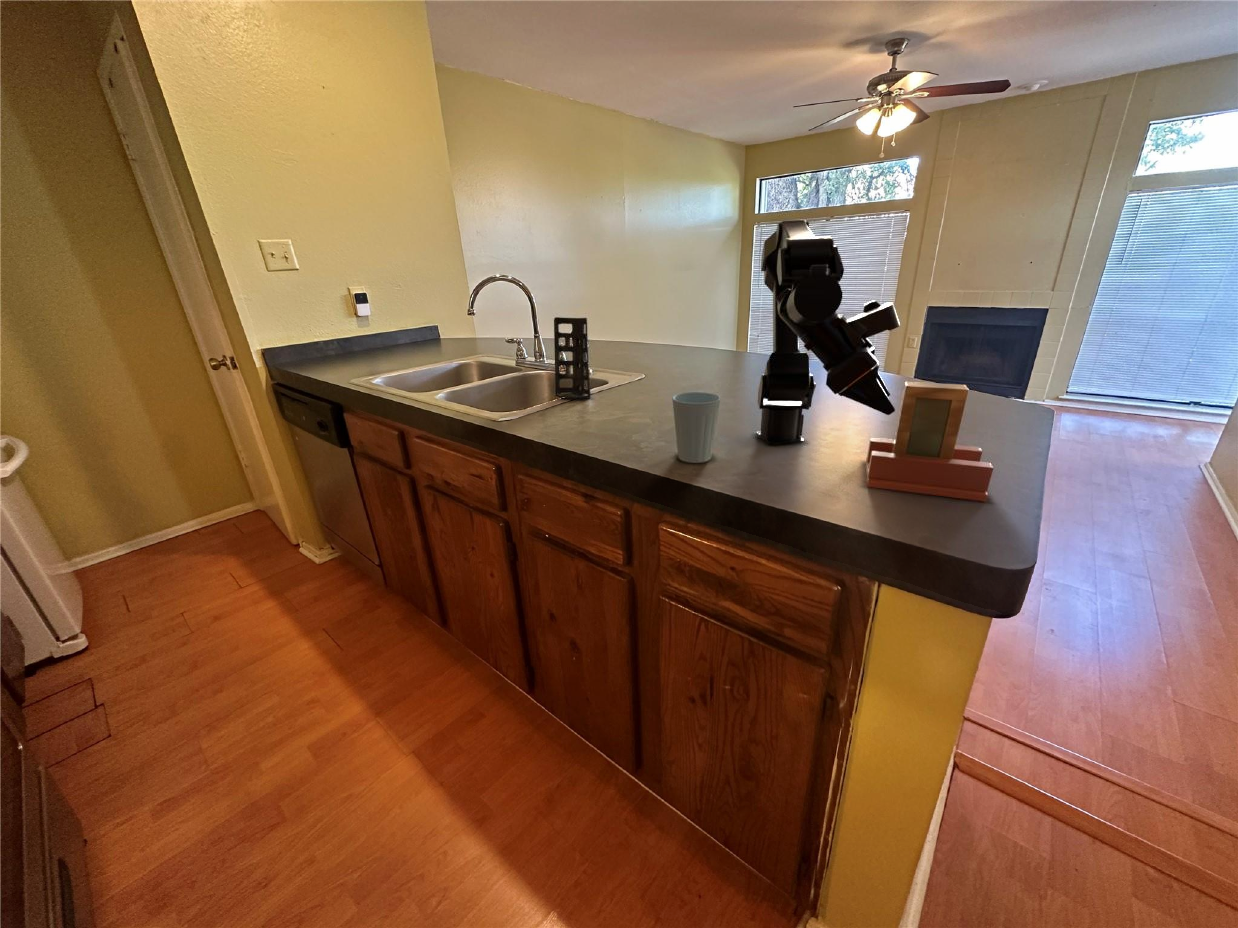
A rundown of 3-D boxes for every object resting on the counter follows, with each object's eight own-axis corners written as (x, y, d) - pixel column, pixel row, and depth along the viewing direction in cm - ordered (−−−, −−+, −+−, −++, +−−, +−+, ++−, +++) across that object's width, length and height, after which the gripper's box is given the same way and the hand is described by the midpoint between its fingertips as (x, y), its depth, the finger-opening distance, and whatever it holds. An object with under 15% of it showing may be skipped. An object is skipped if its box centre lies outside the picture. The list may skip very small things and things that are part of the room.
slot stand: (867, 486, 68) (872, 457, 66) (865, 462, 76) (870, 435, 75) (986, 501, 62) (995, 470, 61) (970, 473, 71) (978, 445, 69)
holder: (547, 397, 123) (545, 317, 118) (561, 393, 130) (560, 317, 124) (585, 400, 119) (585, 317, 114) (598, 396, 126) (598, 318, 120)
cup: (726, 455, 81) (729, 395, 77) (701, 469, 76) (703, 405, 72) (689, 446, 86) (690, 389, 82) (663, 459, 81) (663, 399, 77)
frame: (889, 474, 69) (906, 386, 64) (888, 467, 71) (905, 381, 67) (946, 482, 66) (968, 389, 61) (944, 474, 68) (965, 384, 64)
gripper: (869, 283, 57) (958, 380, 56) (865, 279, 72) (934, 355, 72) (792, 349, 63) (872, 437, 62) (804, 332, 78) (868, 402, 78)
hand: (889, 404), depth 69 cm, fingers open, 9 cm apart
